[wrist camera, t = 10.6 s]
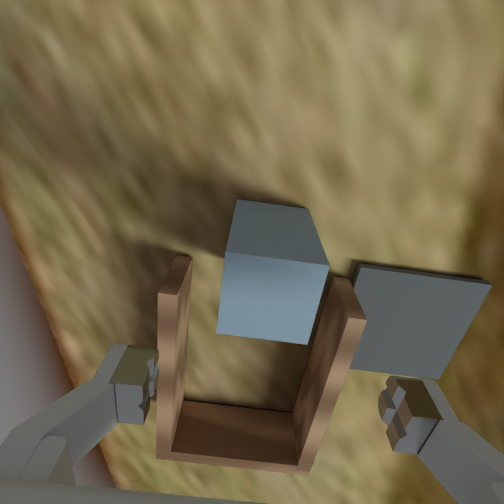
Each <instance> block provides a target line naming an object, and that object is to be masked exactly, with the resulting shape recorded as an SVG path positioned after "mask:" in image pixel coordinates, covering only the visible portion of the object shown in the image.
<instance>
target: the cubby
mask: <svg viewBox="0 0 504 504" xmlns="http://www.w3.org/2000/svg"><path fill="white" fill-rule="evenodd" d="M192 259H193V257H187V256H179V255H177V256H176V258H175V260H174V262H173V264H172V266H171V268H170V270H169V272H168V274H167V276H166V278H165V279H164V281H163V283H162V285H161V287H160V289H159V291H158V327H157V349H159V359H158V362H157V364H158V365H159V378H158V382H157V436H156V459H164V460H173V461H182V462H191V463H200V464H209V465H218V466H227V467H236V468H245V469H254V470H264V471H273V472H282V473H291V474H300V475H309V472H310V470H311V467H312V464H313V462H314V459H315V456H316V454H317V451H318V448H319V446H320V443H321V441H322V438H323V435H324V433H325V430H326V427H327V425H328V422H329V420H330V417H331V414H332V412H333V409H334V406H335V404H336V401H337V399H338V396H339V393H340V391H341V388H342V385H343V383H344V380H345V378H346V375H347V372H348V370H349V367H350V364H351V362H352V359H353V356H354V354H355V351H356V349H357V346H358V343H359V341H360V338H361V335H362V333H363V330H364V328H365V325H366V322H367V318H366V316H365V314H364V312H363V309H362V307H361V305H360V303H359V300H358V298H357V296H356V294H355V292H354V289H353V287H352V285H351V283H350V280H349V278H342V277H335V276H333V279H332V282H331V286H330V289H329V292H328V296H327V299H326V302H325V306H324V309H323V313H322V316H321V319H320V323H319V326H318V329H317V333H316V336H315V339H314V343H313V346H312V350H311V353H310V356H309V360H308V363H307V366H306V370H305V373H304V376H303V380H302V383H301V387H300V390H299V393H298V397H297V400H296V403H295V407H294V410H293V413H285V412H277V411H268V410H260V409H251V408H243V407H234V406H226V405H217V404H209V403H200V402H192V401H183V399H184V384H185V368H186V353H187V337H188V321H189V306H190V290H191V275H192Z"/></svg>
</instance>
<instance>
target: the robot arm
mask: <svg viewBox="0 0 504 504" xmlns="http://www.w3.org/2000/svg"><path fill="white" fill-rule="evenodd" d="M158 359H159V349H155V348H148V347H141V346H134V345H125V344H118V343H114V344H113V345H112V346H111V347H110V349H109V351H108V353H107V355H106V356H105V358H104V360H103V362H102V363H101V365H100V367H99V369H98V371H97V372H96V374H95V376H94V378H93V379H92V381H86V382H85V383H83V384H81V385H80V386H78V387H77V388H75V389H74V390H72V391H71V392H69V393H68V394H66V395H65V396H63V397H61V398H60V399H58V400H57V401H55V402H54V403H52V404H51V405H49V406H48V407H46V408H45V409H43V410H41V411H40V412H38V413H37V414H35V415H34V416H32V417H31V418H29V419H28V420H26V421H24V422H23V423H21V424H20V425H18V426H17V427H16V428H14V429H12V430H11V431H10V433H9V434H8V436H7V437H6V438H5V440H4V441H3V443H2V444H1V445H0V504H266V503H255V502H245V501H235V500H225V499H214V498H204V497H194V496H184V495H174V494H163V493H153V492H143V491H133V490H123V489H112V488H102V487H92V486H82V485H76V481H75V477H74V472H73V466H74V465H75V464H76V463H77V462H78V461H79V460H80V459H81V458H82V457H83V456H84V455H85V454H86V453H87V452H89V450H91V449H92V447H94V446H95V445H96V444H97V443H98V442H99V441H100V440H101V439H102V438H103V437H104V436H105V435H106V434H107V433H108V432H109V431H111V430H112V429H113V428H114V427H115V426H116V425H117V423H130V424H143V425H144V422H145V419H146V417H147V414H148V411H149V408H150V397H151V396H153V395H154V393H155V390H156V387H157V382H158V378H159V365H158V364H157V362H158ZM386 385H387V389H385V390H383V391H382V392H381V394H380V396H379V402H378V408H379V413H380V416H381V419H382V421H383V422H384V423H385V424H386V425H387V426H388V428H387V431H386V433H387V436H388V439H389V442H390V444H391V447H392V450H393V451H396V452H403V453H410V454H418V457H419V458H420V459H421V461H422V462H423V463H424V464H425V465H426V466H427V468H428V469H429V470H430V471H431V472H432V474H433V475H434V476H435V477H436V478H437V479H438V481H439V482H440V483H441V484H442V485H443V487H444V488H445V489H446V490H447V491H448V492H449V494H450V495H451V496H452V497H453V498H454V500H455V501H456V502H457V503H458V504H504V455H502V454H501V453H500V452H499V451H498V450H496V449H495V448H494V447H493V446H492V445H490V444H489V443H488V442H487V441H485V440H484V439H483V438H482V437H481V436H479V435H478V434H477V433H476V432H474V431H473V430H472V429H471V428H470V427H468V426H467V425H466V424H465V423H460V422H459V420H458V419H457V417H456V415H455V413H454V412H453V410H452V408H451V407H450V405H449V403H448V402H447V400H446V398H445V396H444V395H443V393H442V391H441V390H440V388H439V386H438V384H437V383H436V382H435V381H433V380H426V379H417V378H407V377H398V376H390V377H389V378H388V379H387V381H386Z"/></svg>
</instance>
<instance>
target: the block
mask: <svg viewBox="0 0 504 504" xmlns="http://www.w3.org/2000/svg"><path fill="white" fill-rule="evenodd" d="M329 267H330V265H329V262H328V260H327V257H326V254H325V252H324V249H323V246H322V244H321V241H320V238H319V236H318V233H317V230H316V228H315V225H314V222H313V220H312V217H311V215H310V212H309V209H304V208H297V207H290V206H283V205H276V204H269V203H262V202H255V201H248V200H240V199H237V201H236V206H235V210H234V215H233V220H232V224H231V229H230V233H229V238H228V242H227V247H226V251H225V260H224V269H223V278H222V287H221V296H220V305H219V313H218V322H217V331H216V333H217V334H225V335H233V336H241V337H249V338H257V339H265V340H274V341H282V342H290V343H298V344H306V345H307V344H308V341H309V337H310V334H311V330H312V327H313V323H314V320H315V316H316V313H317V309H318V306H319V302H320V299H321V295H322V291H323V288H324V284H325V281H326V277H327V274H328V270H329Z"/></svg>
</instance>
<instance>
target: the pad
mask: <svg viewBox="0 0 504 504" xmlns="http://www.w3.org/2000/svg"><path fill="white" fill-rule="evenodd" d="M352 287H353V289H354V292H355V294H356V296H357V298H358V300H359V303H360V305H361V307H362V309H363V312H364V314H365V316H366V318H367V322H366V325H365V328H364V330H363V333H362V335H361V338H360V341H359V343H358V346H357V349H356V351H355V354H354V356H353V359H352V362H351V364H350V367H349V369H357V370H365V371H373V372H381V373H389V374H397V375H405V376H413V377H421V378H429V379H437V380H439V379H440V377H441V375H442V373H443V371H444V370H445V368H446V366H447V364H448V363H449V361H450V359H451V357H452V356H453V354H454V352H455V350H456V349H457V347H458V345H459V343H460V342H461V340H462V338H463V336H464V334H465V333H466V331H467V329H468V327H469V326H470V324H471V322H472V320H473V319H474V317H475V315H476V313H477V312H478V310H479V308H480V306H481V304H482V303H483V301H484V299H485V297H486V296H487V294H488V292H489V290H490V289H491V287H492V284H490V283H489V282H488V281H484V280H477V279H470V278H462V277H455V276H448V275H440V274H433V273H426V272H419V271H411V270H404V269H397V268H389V267H382V266H375V265H368V264H360V263H359V265H358V268H357V271H356V274H355V277H354V280H353V283H352Z"/></svg>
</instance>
